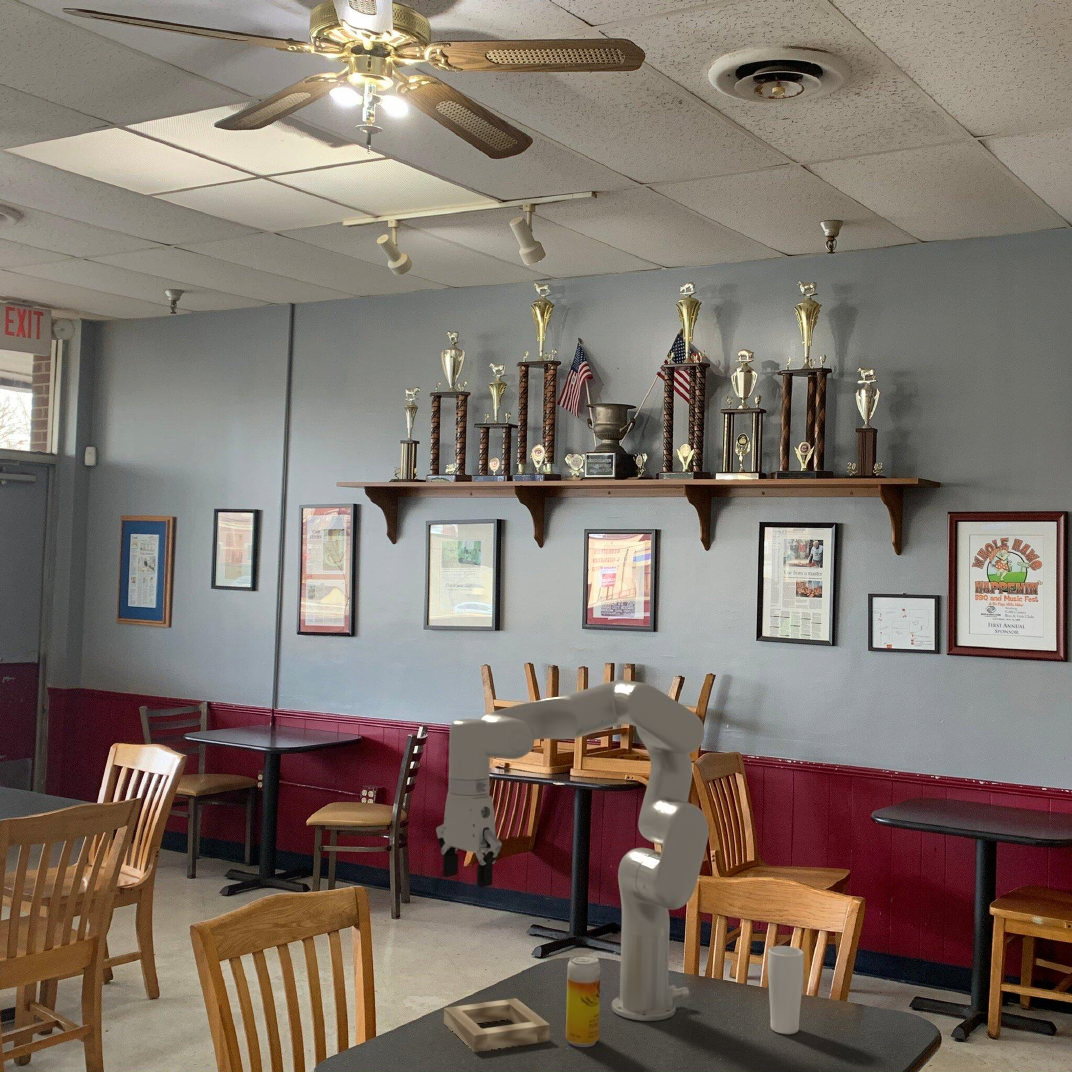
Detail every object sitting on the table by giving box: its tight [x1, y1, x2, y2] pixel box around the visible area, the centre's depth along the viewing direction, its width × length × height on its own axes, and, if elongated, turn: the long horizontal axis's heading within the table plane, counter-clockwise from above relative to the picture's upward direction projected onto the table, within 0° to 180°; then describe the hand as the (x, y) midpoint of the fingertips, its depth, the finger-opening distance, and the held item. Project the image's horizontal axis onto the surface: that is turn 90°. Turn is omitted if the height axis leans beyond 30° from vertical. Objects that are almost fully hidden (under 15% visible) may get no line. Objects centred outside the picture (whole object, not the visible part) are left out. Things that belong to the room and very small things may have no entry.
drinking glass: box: [767, 945, 805, 1035], centre depth 229 cm, size 7×7×15 cm
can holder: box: [443, 997, 551, 1053], centre depth 224 cm, size 15×15×3 cm
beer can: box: [565, 954, 602, 1048], centre depth 221 cm, size 6×6×15 cm
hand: (467, 880), depth 220 cm, fingers open, 9 cm apart
